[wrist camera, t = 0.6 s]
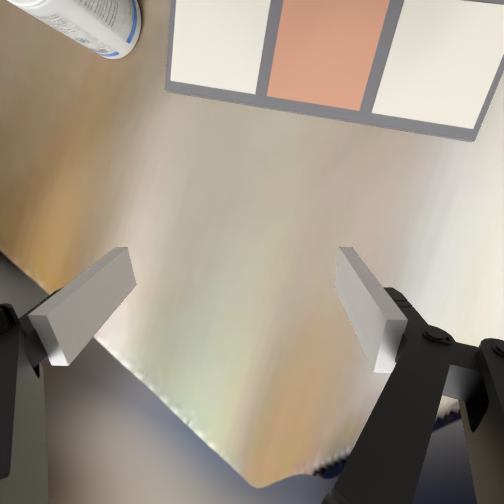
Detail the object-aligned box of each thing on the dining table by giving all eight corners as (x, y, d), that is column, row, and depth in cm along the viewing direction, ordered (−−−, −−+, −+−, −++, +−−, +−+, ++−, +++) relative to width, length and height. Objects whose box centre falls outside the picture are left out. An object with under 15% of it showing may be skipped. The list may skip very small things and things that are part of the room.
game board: (177, -39, 33) (173, -45, 32) (528, -1, 29) (536, -7, 28) (167, 91, 38) (164, 89, 37) (470, 141, 33) (475, 140, 32)
